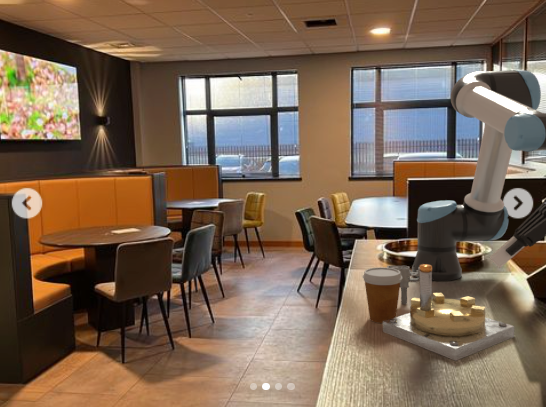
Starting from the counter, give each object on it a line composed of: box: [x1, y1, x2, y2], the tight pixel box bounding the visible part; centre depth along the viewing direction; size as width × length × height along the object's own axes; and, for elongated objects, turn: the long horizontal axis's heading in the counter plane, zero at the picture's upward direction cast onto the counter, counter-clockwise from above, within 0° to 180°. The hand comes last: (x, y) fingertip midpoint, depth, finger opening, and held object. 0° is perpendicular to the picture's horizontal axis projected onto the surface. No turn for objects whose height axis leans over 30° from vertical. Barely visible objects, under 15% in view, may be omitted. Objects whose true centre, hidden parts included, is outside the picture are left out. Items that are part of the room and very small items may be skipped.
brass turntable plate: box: [409, 264, 486, 336], centre depth 117 cm, size 16×16×14 cm
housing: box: [382, 312, 515, 362], centre depth 118 cm, size 20×20×3 cm
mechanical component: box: [384, 265, 420, 305], centre depth 140 cm, size 3×10×10 cm, turn 79°
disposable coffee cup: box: [362, 266, 402, 324], centre depth 128 cm, size 10×10×12 cm
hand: (494, 262), depth 108 cm, fingers closed
